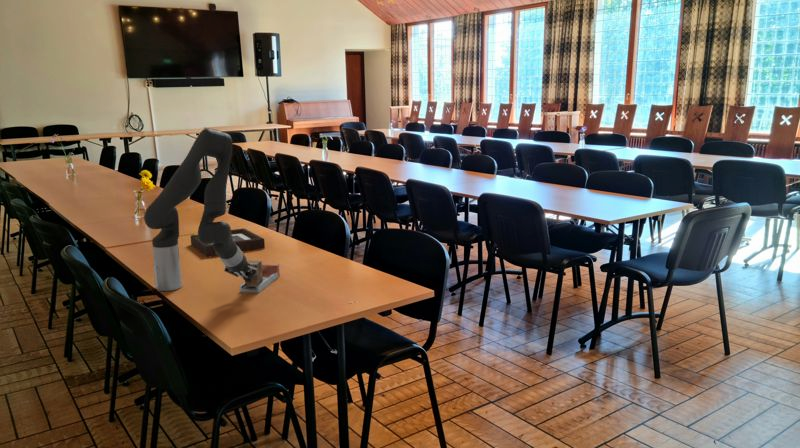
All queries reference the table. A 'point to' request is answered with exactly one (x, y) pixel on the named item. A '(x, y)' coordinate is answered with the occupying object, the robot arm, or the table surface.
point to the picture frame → (240, 237)
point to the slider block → (257, 276)
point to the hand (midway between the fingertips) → (248, 279)
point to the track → (268, 274)
